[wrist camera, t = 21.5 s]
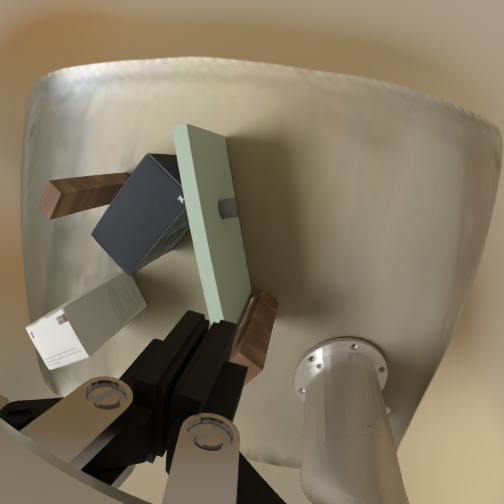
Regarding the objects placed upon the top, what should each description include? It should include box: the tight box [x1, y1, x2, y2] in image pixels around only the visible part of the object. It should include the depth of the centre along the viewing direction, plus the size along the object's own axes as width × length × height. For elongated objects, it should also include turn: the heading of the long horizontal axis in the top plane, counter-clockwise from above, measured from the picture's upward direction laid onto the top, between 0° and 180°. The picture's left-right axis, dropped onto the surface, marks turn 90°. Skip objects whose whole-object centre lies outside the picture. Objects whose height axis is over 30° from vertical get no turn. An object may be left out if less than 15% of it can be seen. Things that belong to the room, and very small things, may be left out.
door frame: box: [38, 173, 278, 387], centre depth 32 cm, size 25×3×14 cm, turn 51°
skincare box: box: [26, 271, 147, 370], centre depth 35 cm, size 8×6×15 cm
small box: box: [91, 153, 190, 276], centre depth 33 cm, size 11×6×10 cm, turn 137°
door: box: [172, 124, 252, 338], centre depth 31 cm, size 19×3×12 cm, turn 10°
